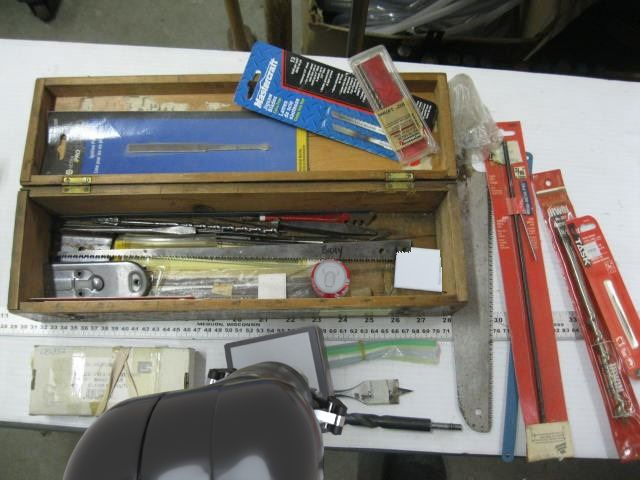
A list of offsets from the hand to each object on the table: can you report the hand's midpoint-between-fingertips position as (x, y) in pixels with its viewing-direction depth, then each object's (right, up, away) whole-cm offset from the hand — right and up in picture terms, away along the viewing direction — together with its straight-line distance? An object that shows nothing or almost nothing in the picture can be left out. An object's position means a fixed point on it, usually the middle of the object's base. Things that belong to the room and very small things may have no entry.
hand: (285, 390), depth 52 cm
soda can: (+6, +8, +38) cm, 39 cm away
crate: (-1, -8, +34) cm, 35 cm away
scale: (-1, -3, +10) cm, 10 cm away
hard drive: (+25, +11, +38) cm, 47 cm away
